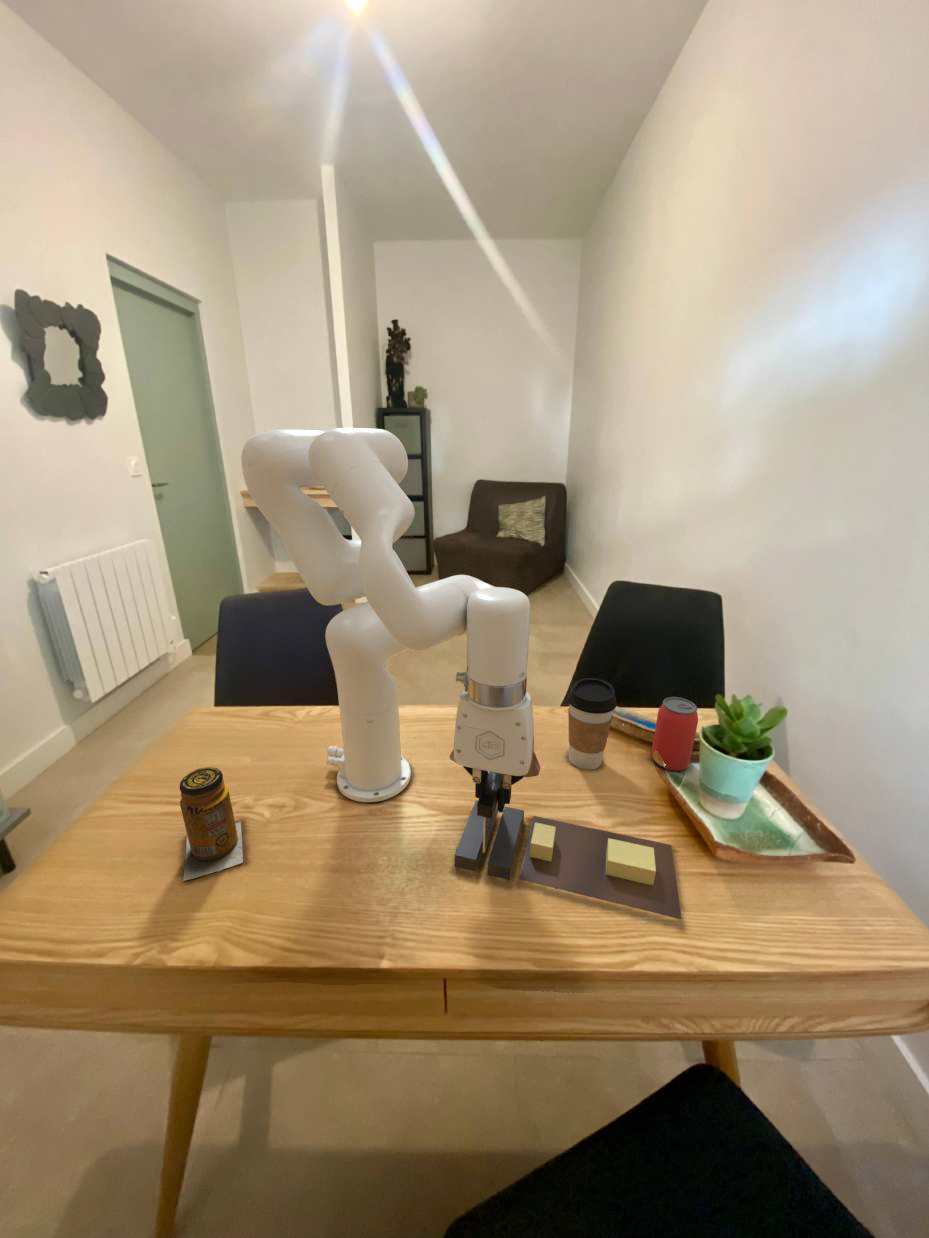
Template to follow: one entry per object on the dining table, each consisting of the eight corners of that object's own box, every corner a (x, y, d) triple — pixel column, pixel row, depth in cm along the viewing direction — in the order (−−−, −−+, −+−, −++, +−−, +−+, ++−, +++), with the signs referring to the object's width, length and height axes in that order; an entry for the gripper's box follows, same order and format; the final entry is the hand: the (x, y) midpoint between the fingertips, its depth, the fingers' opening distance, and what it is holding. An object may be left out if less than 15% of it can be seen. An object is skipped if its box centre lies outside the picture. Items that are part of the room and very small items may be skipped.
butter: (605, 874, 64) (607, 860, 63) (606, 851, 68) (608, 837, 67) (653, 885, 63) (656, 871, 62) (651, 861, 66) (653, 847, 66)
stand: (454, 871, 66) (454, 854, 65) (475, 815, 76) (475, 800, 75) (509, 885, 64) (510, 868, 63) (523, 825, 74) (524, 810, 73)
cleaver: (476, 851, 64) (477, 804, 61) (493, 800, 73) (494, 757, 70) (491, 854, 63) (492, 807, 61) (506, 803, 72) (508, 760, 70)
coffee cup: (614, 755, 90) (624, 684, 85) (600, 780, 84) (609, 705, 78) (571, 741, 95) (578, 672, 89) (554, 763, 88) (561, 691, 83)
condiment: (240, 822, 74) (228, 757, 70) (243, 863, 67) (229, 793, 63) (187, 838, 71) (170, 771, 67) (183, 882, 64) (164, 810, 60)
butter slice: (529, 856, 67) (530, 842, 66) (534, 835, 71) (535, 822, 70) (551, 861, 66) (552, 847, 65) (554, 840, 70) (555, 826, 69)
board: (518, 884, 64) (519, 878, 64) (532, 820, 75) (532, 815, 74) (680, 925, 59) (681, 919, 58) (670, 849, 70) (671, 844, 69)
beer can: (692, 775, 85) (704, 716, 81) (653, 770, 86) (663, 712, 82) (684, 752, 91) (695, 697, 87) (647, 748, 92) (657, 693, 88)
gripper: (426, 691, 59) (429, 810, 66) (556, 710, 55) (546, 835, 61) (445, 665, 66) (447, 776, 72) (563, 680, 62) (553, 796, 68)
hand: (493, 802), depth 67 cm, fingers closed on cleaver, 2 cm apart
